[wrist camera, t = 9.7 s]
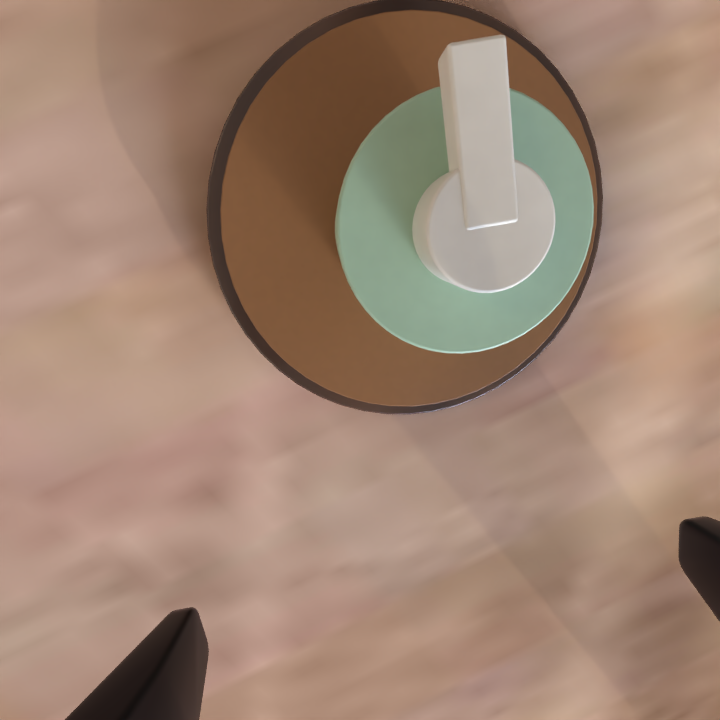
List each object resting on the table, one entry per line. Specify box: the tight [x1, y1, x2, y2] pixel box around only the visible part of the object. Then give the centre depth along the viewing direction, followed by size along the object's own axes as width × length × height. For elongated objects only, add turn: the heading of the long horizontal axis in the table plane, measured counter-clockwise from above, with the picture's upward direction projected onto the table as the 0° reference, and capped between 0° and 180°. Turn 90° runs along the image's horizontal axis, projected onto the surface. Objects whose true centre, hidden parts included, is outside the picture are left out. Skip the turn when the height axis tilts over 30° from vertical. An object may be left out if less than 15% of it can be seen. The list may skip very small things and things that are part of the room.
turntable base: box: [207, 0, 603, 414], centre depth 18 cm, size 15×15×1 cm
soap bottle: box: [220, 10, 597, 406], centre depth 13 cm, size 14×14×9 cm
